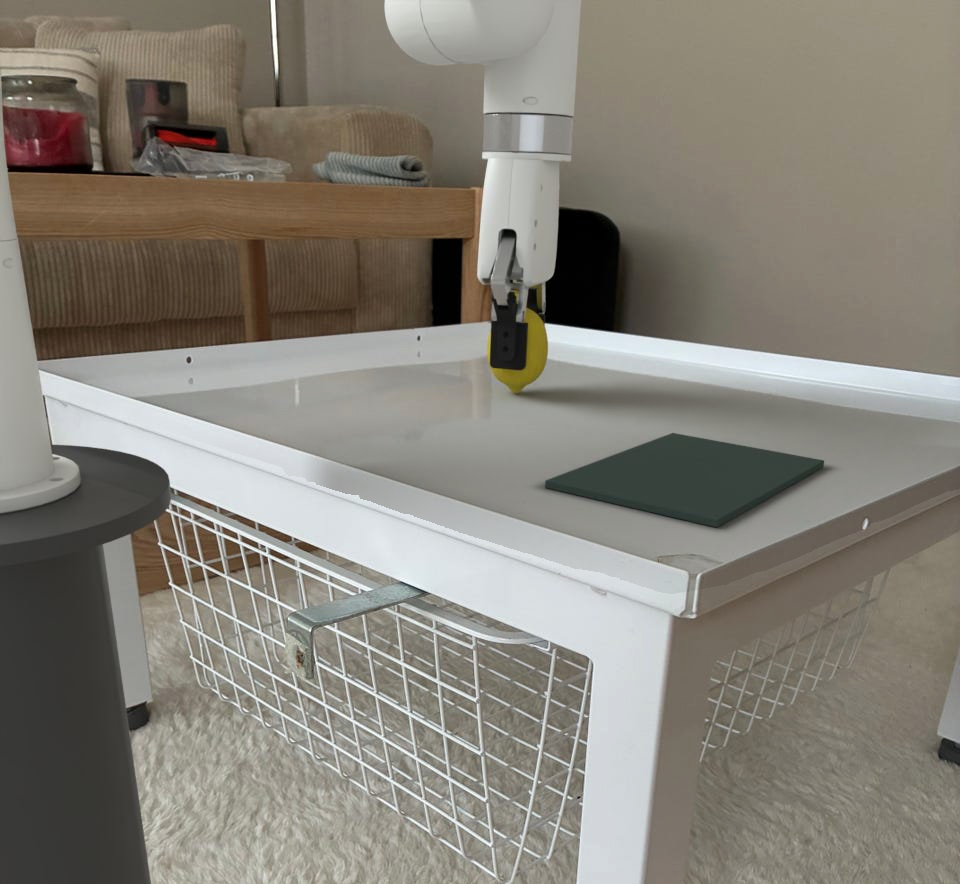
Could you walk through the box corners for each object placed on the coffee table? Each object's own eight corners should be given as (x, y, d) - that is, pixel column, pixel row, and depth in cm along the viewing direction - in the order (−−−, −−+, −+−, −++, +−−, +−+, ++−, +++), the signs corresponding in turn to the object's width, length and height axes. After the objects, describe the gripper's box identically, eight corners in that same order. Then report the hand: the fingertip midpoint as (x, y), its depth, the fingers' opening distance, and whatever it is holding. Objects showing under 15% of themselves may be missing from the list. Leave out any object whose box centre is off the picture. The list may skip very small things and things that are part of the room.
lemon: (539, 401, 88) (544, 307, 85) (479, 396, 89) (482, 303, 86) (550, 390, 93) (555, 301, 89) (493, 385, 94) (496, 297, 91)
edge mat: (717, 527, 57) (718, 519, 57) (544, 487, 63) (545, 480, 63) (823, 467, 70) (824, 460, 70) (671, 439, 76) (672, 432, 76)
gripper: (511, 145, 90) (502, 347, 98) (452, 135, 76) (448, 375, 83) (591, 147, 89) (576, 353, 96) (547, 137, 74) (533, 382, 81)
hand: (517, 361), depth 90 cm, fingers closed on lemon, 5 cm apart
